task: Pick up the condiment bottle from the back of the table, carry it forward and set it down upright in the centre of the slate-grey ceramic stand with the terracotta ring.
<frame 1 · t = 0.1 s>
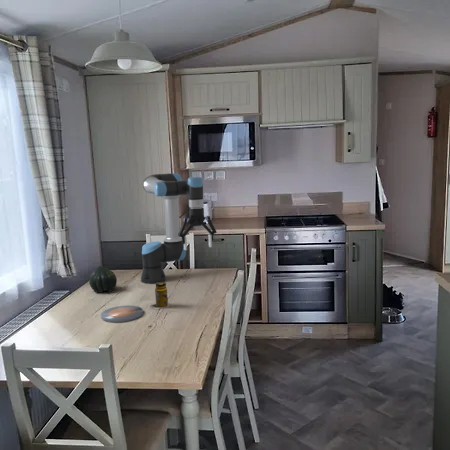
hand: (198, 248, 234), 28 cm above the table, tool pointing down, fingers open, 13 cm apart
condiment: (160, 306, 232), on the table
ring stand: (122, 314, 221), on the table
squash: (103, 291, 261), on the table
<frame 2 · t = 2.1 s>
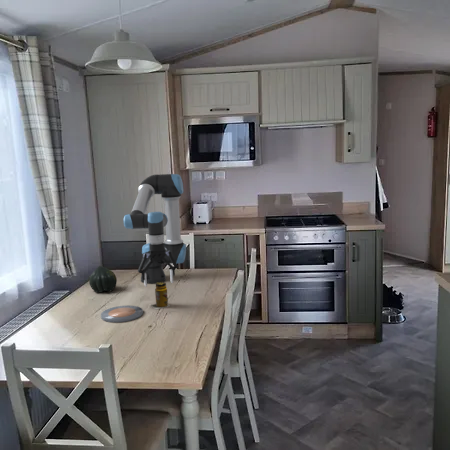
hand: (158, 284, 230), 12 cm above the table, tool pointing down, fingers open, 13 cm apart
nothing on the table moved.
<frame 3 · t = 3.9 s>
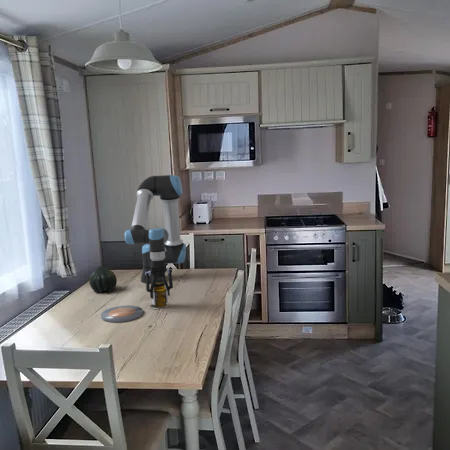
hand: (160, 303, 231), 1 cm above the table, tool pointing down, fingers closed on condiment, 6 cm apart
condiment: (158, 306, 232), on the table, touching gripper
everything else where it was.
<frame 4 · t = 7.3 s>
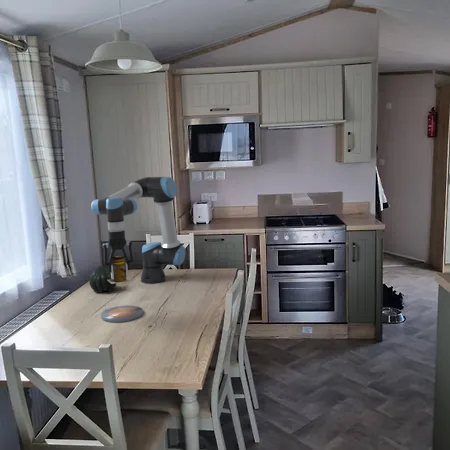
hand: (119, 277, 218), 19 cm above the table, tool pointing down, fingers closed on condiment, 6 cm apart
condiment: (118, 281, 218), point 17 cm above the table, touching gripper
everything else where it was.
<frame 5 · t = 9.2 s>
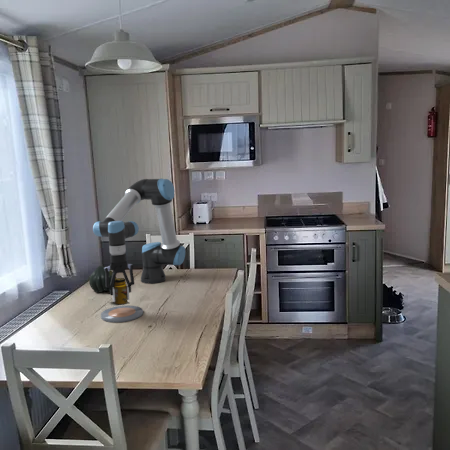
hand: (121, 300, 219), 7 cm above the table, tool pointing down, fingers closed on condiment, 6 cm apart
condiment: (119, 303, 219), point 6 cm above the table, touching gripper
everything else where it was.
when the fingers open (4 cm above the table, at t = 10.7 s): condiment drops 1 cm, resting on ring stand.
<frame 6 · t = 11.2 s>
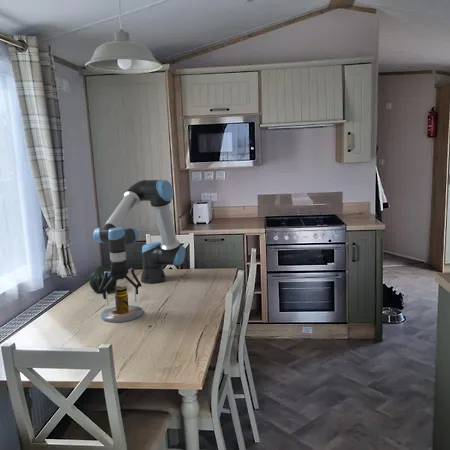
hand: (121, 303, 220), 6 cm above the table, tool pointing down, fingers open, 13 cm apart
condiment: (120, 312, 221), point 1 cm above the table, touching ring stand
everything else where it was.
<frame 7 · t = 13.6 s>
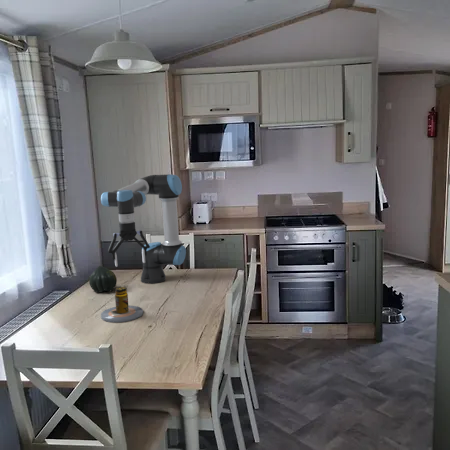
hand: (130, 264, 224), 23 cm above the table, tool pointing down, fingers open, 13 cm apart
nothing on the table moved.
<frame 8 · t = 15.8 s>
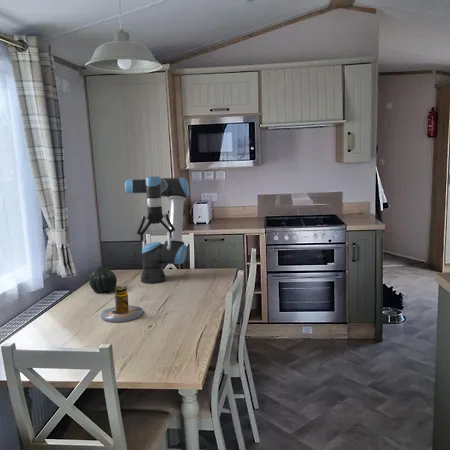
hand: (156, 245, 240), 29 cm above the table, tool pointing down, fingers open, 13 cm apart
nothing on the table moved.
at the end: condiment 0.7 cm from the ring stand (horizontally); condiment inside the target area on the ring stand (0.6 cm from its centre), point 1.1 cm above the ring stand's base; condiment tilted 0° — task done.
